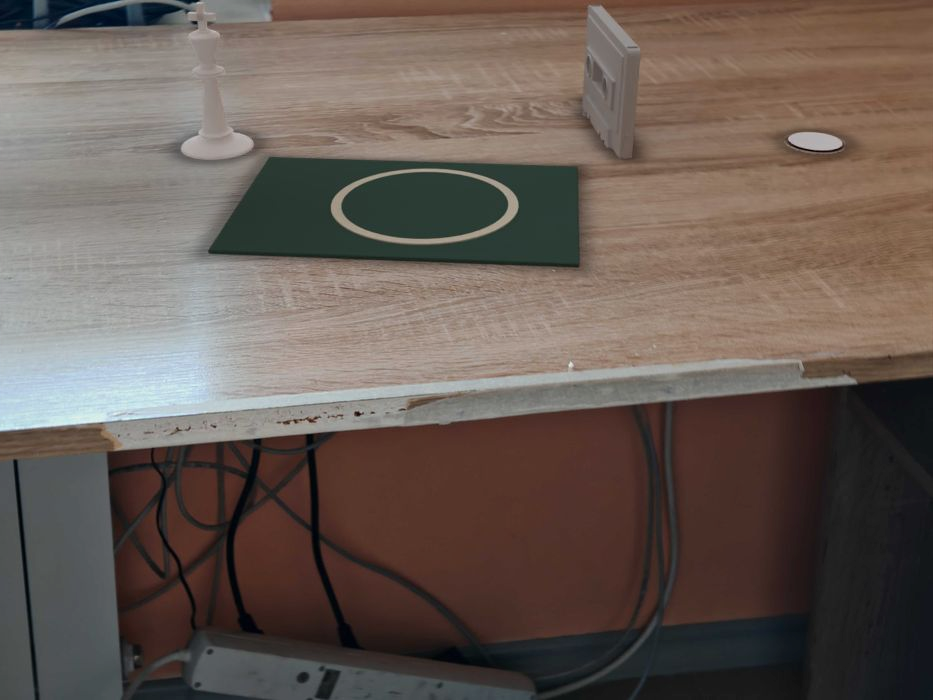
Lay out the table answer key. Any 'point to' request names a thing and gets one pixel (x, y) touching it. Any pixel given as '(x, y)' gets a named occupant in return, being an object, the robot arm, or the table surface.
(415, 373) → the table surface
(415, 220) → the desk mat
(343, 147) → the table surface
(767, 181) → the table surface
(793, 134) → the white rimmed disc
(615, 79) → the cassette
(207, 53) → the chess piece
